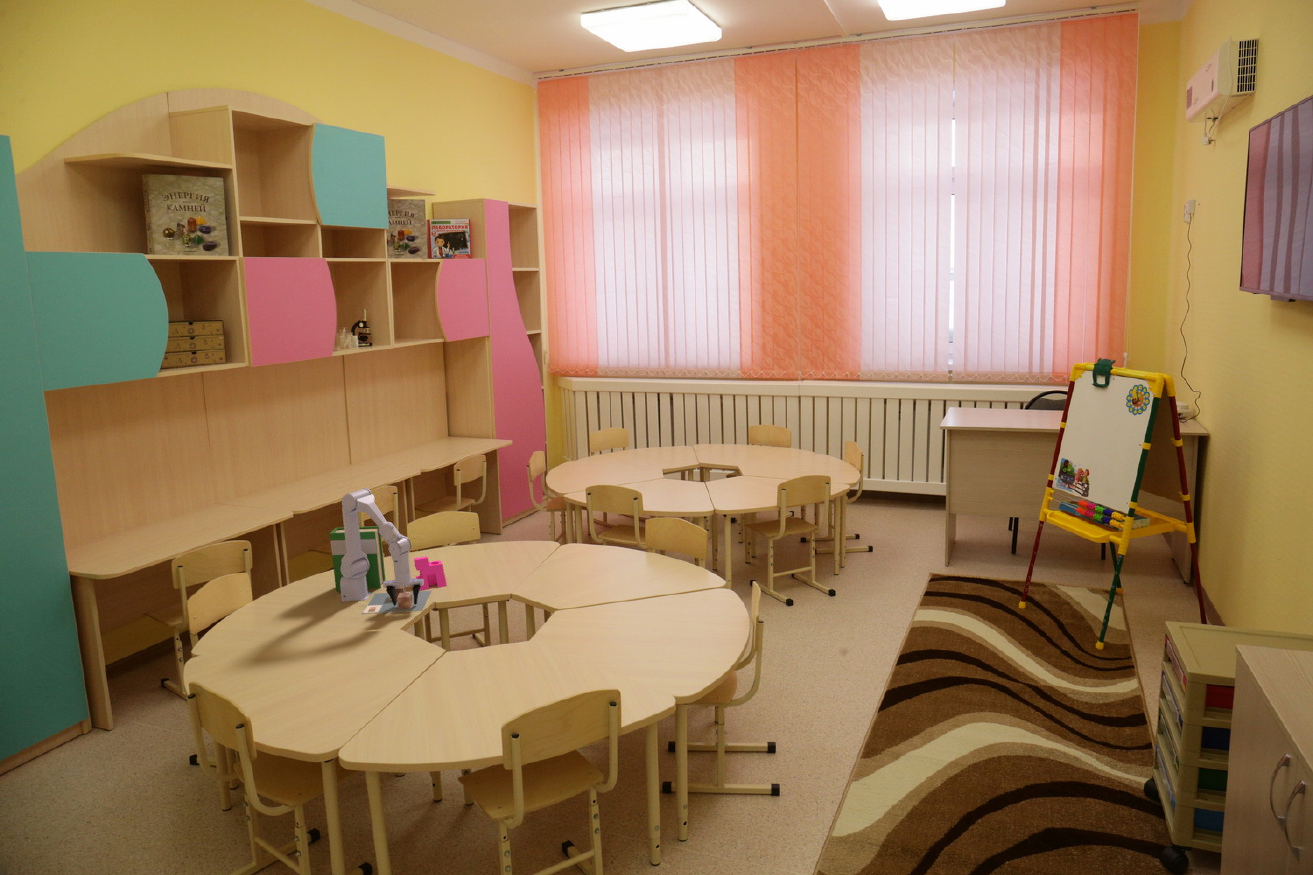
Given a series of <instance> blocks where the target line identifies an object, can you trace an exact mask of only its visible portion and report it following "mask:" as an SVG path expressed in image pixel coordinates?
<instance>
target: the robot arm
mask: <svg viewBox="0 0 1313 875" xmlns="http://www.w3.org/2000/svg"><path fill="white" fill-rule="evenodd" d="M341 505H342V508H341V510H342V521H343V527H344V532H345V541H346V551H347V553H346V554H345V556H344V557H343V558H342V560H341V561H342V564H341V573H342V575H343V577H342V578H341V581H340V588H341V591H340V594H341V595H340V596H341V597H340V598H341V602H342V603H344V602H350V601H352V602H353V601H366V600H368V598H369V596H370V595H371V593H372V592H371V591H368V589H367V582H366V574H367V571H368V569H369V561H368V559H367V554H366V553H364V552H362V551H361V541H360V531H359V527H360V523H359V522H360V521H359V514H358V513H366V514H367V516H369V518H370V519H371V520H372V522H374V523H375V524H376V526H379V533H380V534H381V538H383V540H384V541H385V542H386V544H388V552H389V554H390V555H391V559H392V563H393V569H394V570H393V571H394V572H393V573H394V579H391V580H386V581H384V582H383V583H382V586H383V587H382V588H383V589H384V588H385V591H386V592H385V593H388V594H389V596H390V597H391V599H392V602H393V605H394V606H396V604H397V600H396V586H399V587H401V586H406V587H409V586H412V587H411V589H412V592H413V595H414V605H415V604H417V599H418V593H419V591H420V587H421V586H423V584H424V581H423V579H416V578H413V577H412V574H411V566H410V562H411V561H410V554H409V553H410V552H409V551H411V549H412V542H411V540H410V539H409V537H407V536H404V535H403V534H401V533H400V532H399V530H398V528H396V526H395V525H394V524H393V523H392V522H390V521H387V520H386V518H385V517H384V515H383V513H382V512H381V510H380V509H379V507H378V506H377V504H376V503H375V495H374V494H373V492H372V490H370V489H369V488H366V487H363V488H362V489H359V490H356V491H353V492H349V493H346V494H344V495H343V496H342V498H341Z"/></svg>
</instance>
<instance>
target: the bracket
mask: <svg viewBox="0 0 1313 875" xmlns="http://www.w3.org/2000/svg"><path fill="white" fill-rule="evenodd" d="M413 561H414V562H413V563H414V568H415V570H416V571H417V572H418V571H419V575H416V576H415V579H423V581H424V584H423V586H421V587H420V590H419V591H428V590H430V586H432V585H436V586H437V588H443V587H447V586H448V585H447V579H446V575H445V571H444V570H445V569H444V566H443V562H442V560H441V559H439V560H432V561H429V557H428V556H426V555H425V556H419V557H418V556H417V557H414V558H413Z"/></svg>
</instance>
